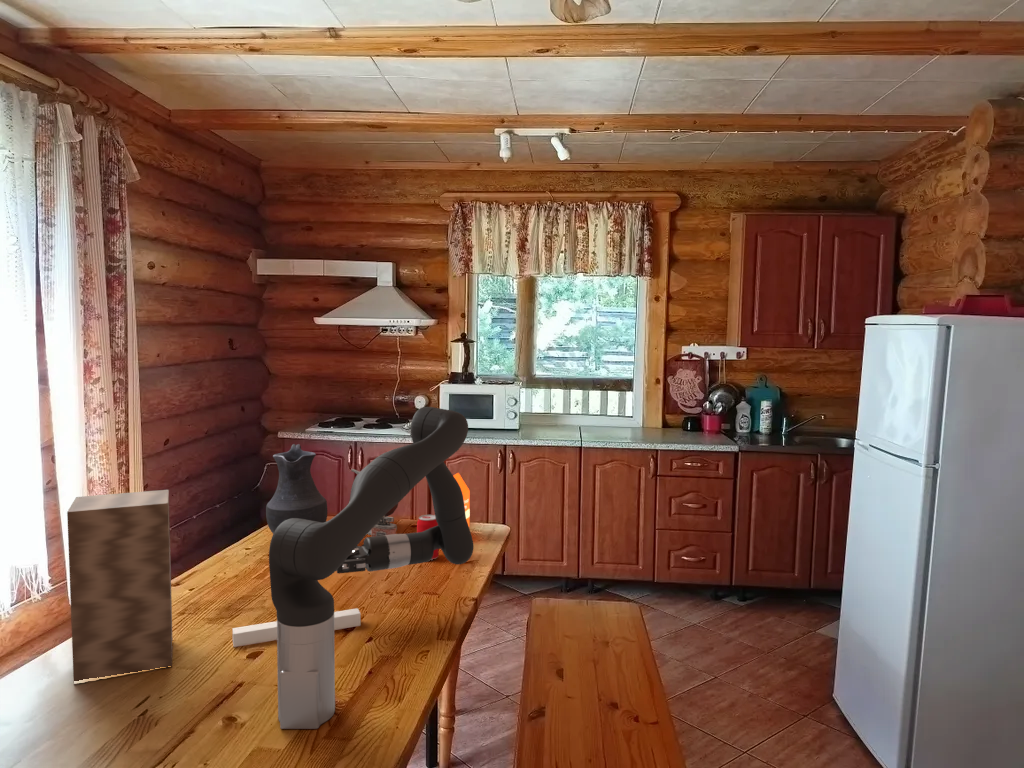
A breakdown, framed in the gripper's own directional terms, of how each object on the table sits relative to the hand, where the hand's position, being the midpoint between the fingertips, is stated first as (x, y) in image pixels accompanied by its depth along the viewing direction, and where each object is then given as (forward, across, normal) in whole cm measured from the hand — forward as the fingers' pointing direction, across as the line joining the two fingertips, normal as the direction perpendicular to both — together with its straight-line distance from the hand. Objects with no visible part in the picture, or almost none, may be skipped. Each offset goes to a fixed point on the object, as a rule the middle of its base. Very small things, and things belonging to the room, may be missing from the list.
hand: (311, 561), depth 147 cm
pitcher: (-6, -60, +15) cm, 62 cm away
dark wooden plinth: (+35, 0, +15) cm, 38 cm away
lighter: (-29, -47, +15) cm, 58 cm away
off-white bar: (+3, 0, +15) cm, 16 cm away
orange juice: (-52, -50, +15) cm, 74 cm away
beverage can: (-38, -34, +15) cm, 53 cm away
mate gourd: (-32, -68, +15) cm, 77 cm away
